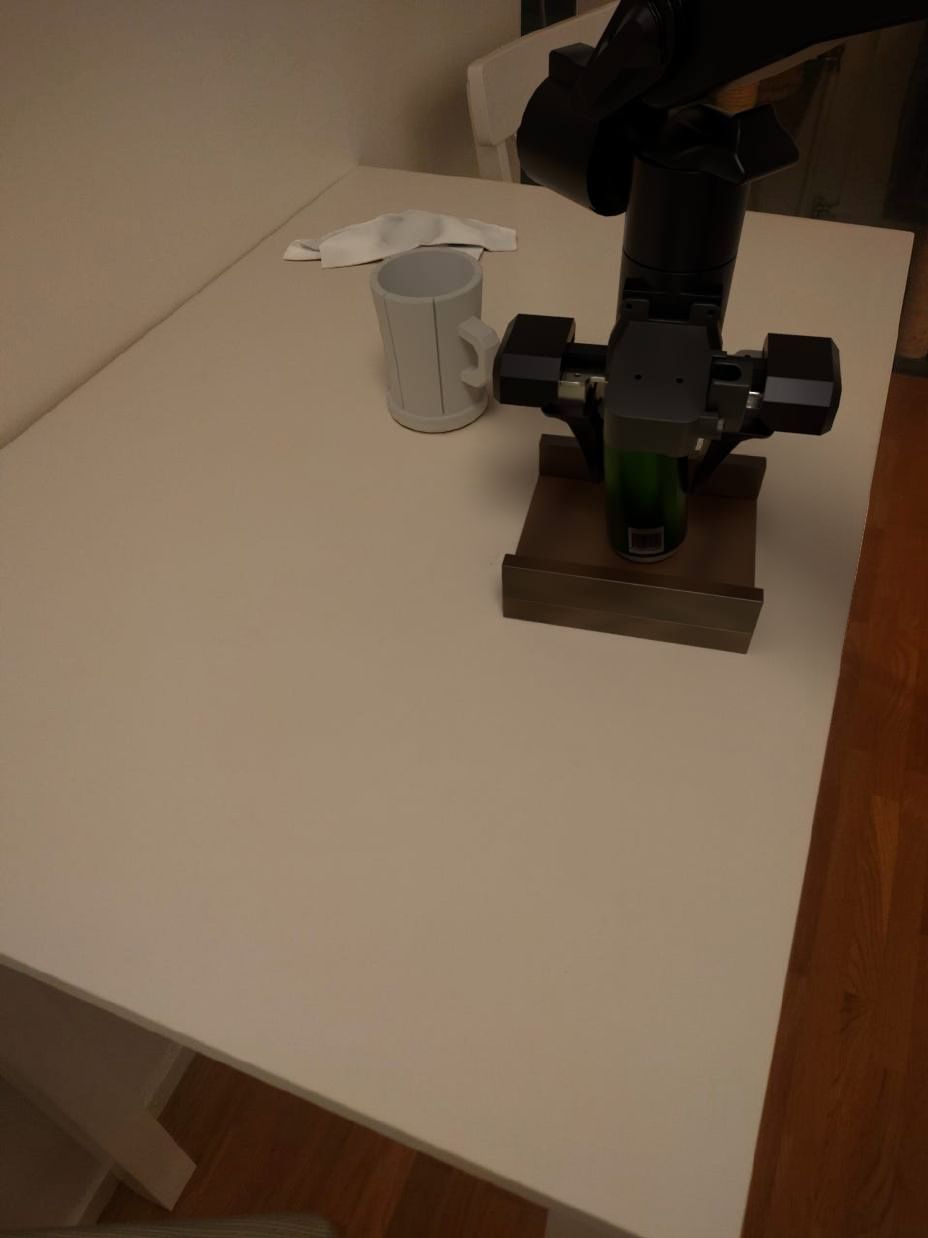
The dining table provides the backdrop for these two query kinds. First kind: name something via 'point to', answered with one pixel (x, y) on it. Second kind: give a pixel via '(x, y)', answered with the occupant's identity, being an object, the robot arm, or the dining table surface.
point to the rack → (638, 591)
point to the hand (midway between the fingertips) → (645, 485)
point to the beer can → (643, 499)
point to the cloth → (402, 238)
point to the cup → (434, 337)
